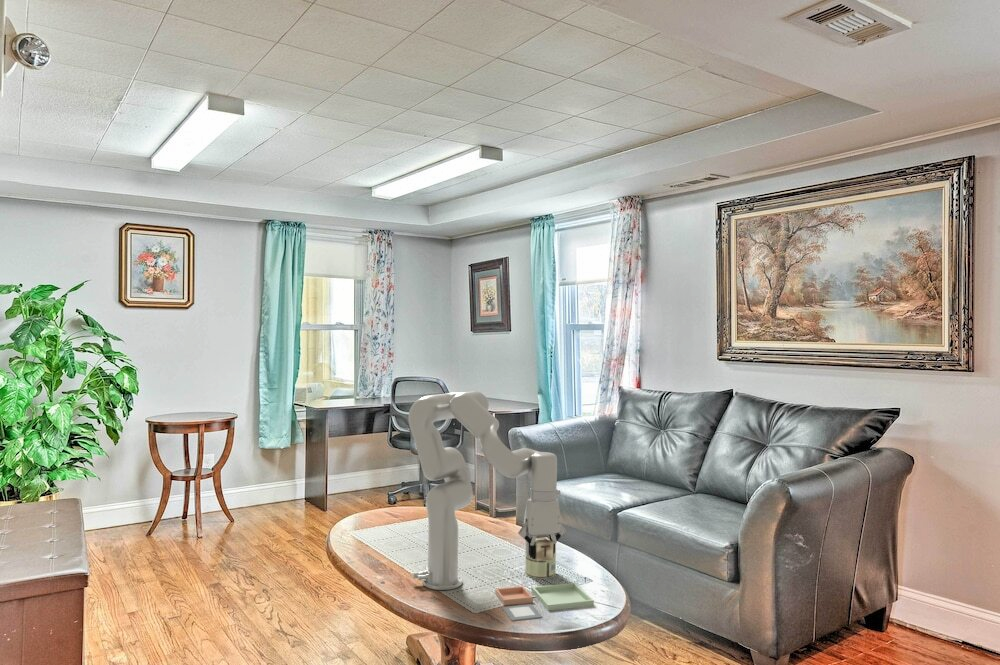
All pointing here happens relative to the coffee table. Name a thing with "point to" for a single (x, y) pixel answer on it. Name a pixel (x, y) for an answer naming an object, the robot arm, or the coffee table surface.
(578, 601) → the green tray
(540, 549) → the letter cube
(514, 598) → the terracotta dish
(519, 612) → the grey framed white tile
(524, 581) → the coffee table surface
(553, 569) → the coffee can
